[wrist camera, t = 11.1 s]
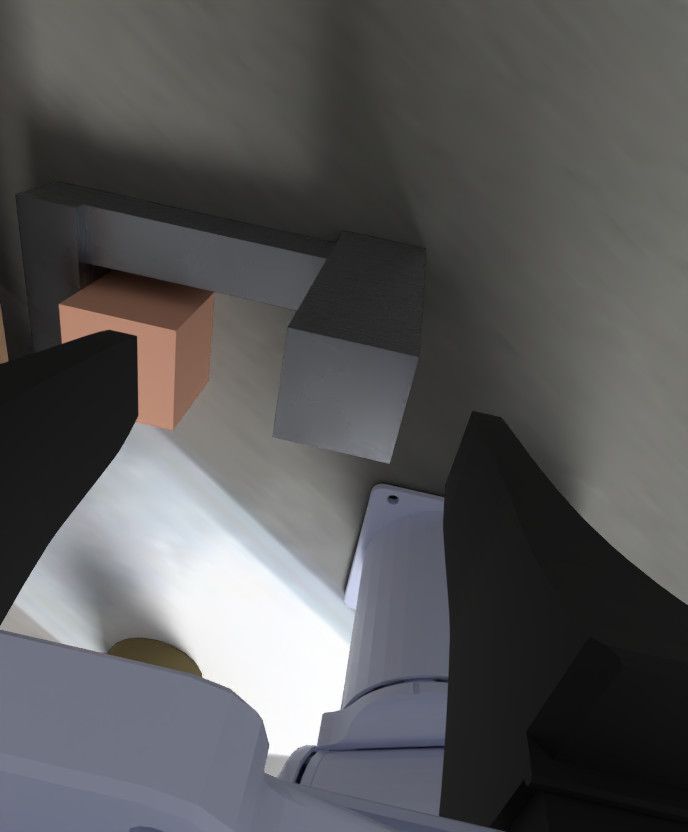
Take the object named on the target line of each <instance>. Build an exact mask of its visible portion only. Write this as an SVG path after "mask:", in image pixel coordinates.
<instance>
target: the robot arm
mask: <svg viewBox="0 0 688 832" xmlns="http://www.w3.org/2000/svg"><path fill="white" fill-rule="evenodd" d="M138 416H139V413H138V354H137V336H136V335H131V334H127V333H122V332H118V331H113V330H105V331H100V332H97V333H93V334H90V335H87V336H83V337H80V338H77V339H74V340H71V341H69V342H66V343H63V344H60V345H57V346H54V347H51V348H48V349H45V350H42V351H39V352H36V353H33V354H30V355H27V356H24V357H21V358H18V359H15V360H11V361H8V362H5V363H1V364H0V625H1V623H2V622H3V620H4V618H5V616H6V615H7V613H8V611H9V609H10V608H11V606H12V604H13V602H14V601H15V599H16V597H17V595H18V594H19V592H20V590H21V588H22V587H23V585H24V583H25V582H26V580H27V578H28V577H29V575H30V573H31V572H32V570H33V568H34V567H35V565H36V564H37V562H38V560H39V559H40V557H41V555H42V554H43V552H44V550H45V549H46V547H47V546H48V544H49V543H50V541H51V540H52V538H53V537H54V536H55V534H56V533H57V531H58V530H59V529H60V527H61V526H62V525H63V523H64V522H65V521H66V519H67V518H68V517H69V516H70V514H71V513H72V512H73V510H74V509H75V508H76V507H77V505H78V504H79V503H80V501H81V500H82V499H83V498H84V496H85V495H86V494H87V493H88V491H89V490H90V489H91V487H92V486H93V485H94V484H95V482H96V481H97V480H98V478H99V477H100V476H101V475H102V473H103V472H104V471H105V469H106V468H107V467H108V465H109V464H110V463H111V461H112V460H113V459H114V457H115V456H116V455H117V453H118V452H119V450H120V449H121V447H122V445H123V444H124V442H125V440H126V438H127V437H128V435H129V433H130V431H131V429H132V427H133V425H134V423H135V422H136V420H137V418H138ZM391 495H395V496H397V497H398V498H396V499H391V498H389V496H391ZM344 604H345V605H346V606H347V607H349V608H351V609H355V610H356V612H355V619H354V625H353V632H352V639H351V645H350V652H349V659H348V665H347V672H346V678H345V685H344V691H343V698H342V704H341V710H339V711H335V712H327V713H324V714H323V715H322V721H321V726H320V732H319V738H318V743H317V746H315V745H306V746H303V747H300V748H298V749H297V750H295V751H294V752H293V753H292V754H291V756H290V757H289V759H288V760H287V761H286V763H285V764H284V767H283V769H282V771H281V772H280V773H279V775H278V776H277V778H276V777H273V776H271V775H269V774H266V773H264V768H265V763H266V758H267V754H268V749H269V742H268V739H267V735H266V731H265V727H264V724H263V720H262V718H261V717H260V716H259V714H258V713H257V712H256V711H255V710H254V709H253V708H252V707H251V706H249V705H248V704H247V703H246V702H245V701H244V700H243V699H241V698H240V697H239V696H238V695H237V694H236V693H234V692H233V691H232V690H231V689H229V688H227V687H224V686H222V685H219V684H217V683H214V682H212V681H209V680H206V679H204V678H201V677H199V676H196V675H194V674H191V673H187V672H183V671H178V670H174V669H169V668H165V667H161V666H156V665H152V664H148V663H143V662H139V661H135V660H130V659H126V658H121V657H117V656H113V655H108V654H104V653H100V652H95V651H91V650H87V649H82V648H78V647H73V646H69V645H65V644H60V643H56V642H52V641H47V640H43V639H39V638H34V637H30V636H25V635H21V634H17V633H12V632H8V631H4V630H0V832H688V605H687V604H685V603H684V602H682V601H681V600H679V599H678V598H676V597H675V596H674V595H672V594H671V593H670V592H668V591H667V590H666V589H664V588H663V587H661V586H660V585H659V584H657V583H656V582H655V581H654V580H652V579H651V578H650V577H649V576H647V575H646V574H645V573H644V572H642V571H641V570H640V569H639V568H637V567H636V566H635V565H634V564H632V563H631V562H630V561H629V560H627V559H626V558H625V557H624V556H623V555H622V554H621V553H619V552H618V551H617V550H616V549H615V548H614V547H612V546H611V545H610V544H609V543H608V542H607V541H606V540H605V539H604V538H603V537H602V536H601V535H600V534H599V533H598V532H597V531H596V530H595V529H593V528H592V527H591V526H590V525H589V524H588V523H587V522H586V521H585V520H584V519H583V518H582V517H581V516H580V515H579V514H578V512H577V511H576V510H575V509H574V508H573V507H572V506H571V505H570V504H569V502H568V501H567V500H566V499H565V498H564V497H563V496H562V495H561V494H560V492H559V491H558V490H557V489H556V488H555V487H554V485H553V484H552V483H551V482H550V481H549V479H548V478H547V477H546V476H545V474H544V473H543V472H542V471H541V469H540V468H539V467H538V465H537V464H536V463H535V462H534V460H533V459H532V458H531V456H530V455H529V454H528V452H527V451H526V450H525V448H524V447H523V445H522V444H521V443H520V441H519V440H518V439H517V437H516V436H515V435H514V433H513V432H512V431H511V429H510V428H509V427H508V425H507V424H506V423H505V421H504V420H503V419H502V418H501V417H497V416H493V415H488V414H484V413H479V412H475V411H472V414H471V416H470V419H469V422H468V425H467V427H466V430H465V433H464V436H463V438H462V441H461V444H460V447H459V449H458V452H457V455H456V458H455V460H454V463H453V466H452V469H451V471H450V474H449V477H448V480H447V482H446V485H445V497H440V496H436V495H431V494H427V493H423V492H418V491H414V490H409V489H405V488H401V487H396V486H392V485H387V484H377V485H375V486H374V487H373V488H372V490H371V494H370V498H369V502H368V506H367V510H366V513H365V517H364V521H363V525H362V529H361V533H360V537H359V540H358V544H357V548H356V552H355V556H354V560H353V564H352V567H351V571H350V575H349V579H348V583H347V587H346V590H345V594H344Z"/></svg>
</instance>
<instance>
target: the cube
mask: <svg viewBox="0 0 688 832" xmlns="http://www.w3.org/2000/svg"><path fill="white" fill-rule="evenodd" d="M213 307H214V292H213V291H208V290H204V289H199V288H195V287H191V286H186V285H182V284H177V283H173V282H168V281H164V280H160V279H155V278H151V277H146V276H142V275H137V274H133V273H129V272H124V271H120V270H115V269H114V270H112V271H111V272H109V273H107V274H106V275H104V276H103V277H101V278H99V279H98V280H96V281H95V282H93V283H92V284H90V285H88V286H87V287H85V288H84V289H82V290H80V291H79V292H77V293H76V294H74V295H72V296H71V297H69V298H68V299H66V300H64V301H63V302H61V303H60V304H59V313H60V326H61V338H62V344H63V343H66V342H69V341H71V340H74V339H77V338H80V337H83V336H87V335H90V334H93V333H97V332H100V331H105V330H113V331H118V332H122V333H127V334H131V335H136V336H137V354H138V413H139V416H138V418H137V420H136V422H138V423H142V424H147V425H151V426H155V427H160V428H164V429H168V430H172V431H173V430H174V428H175V427H176V425H177V424H178V423H179V421H180V420H181V419H182V417H183V416H184V414H185V413H186V412H187V410H188V409H189V407H190V406H191V405H192V403H193V402H194V401H195V399H196V398H197V396H198V395H199V394H200V392H201V391H202V390H203V388H204V387H205V385H206V384H207V383H208V380H209V365H210V351H211V336H212V321H213Z"/></svg>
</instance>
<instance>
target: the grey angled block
mask: <svg viewBox="0 0 688 832" xmlns="http://www.w3.org/2000/svg"><path fill="white" fill-rule="evenodd" d="M15 195H16V204H17V213H18V222H19V231H20V239H21V248H22V257H23V266H24V275H25V283H26V292H27V301H28V310H29V319H30V328H31V336H32V345H33V353H36V352H39V351H42V350H45V349H48V348H51V347H54V346H57V345H60V344H62V338H61V326H60V313H59V304H60V303H61V302H63V301H64V300H66V299H68V298H69V297H71V296H72V295H74V294H76V293H77V292H79V291H80V290H82V289H84V288H85V287H87V286H88V285H90V284H92V283H93V282H95V281H96V280H98V279H99V278H101V277H103V276H104V275H106V274H107V273H109V272H111V271H112V270H113V269H115V270H120V271H124V272H129V273H133V274H137V275H142V276H146V277H151V278H155V279H160V280H164V281H168V282H173V283H177V284H182V285H186V286H191V287H195V288H200V289H204V290H208V291H213V292H217V293H222V294H226V295H231V296H235V297H240V298H244V299H248V300H253V301H257V302H262V303H266V304H271V305H275V306H279V307H284V308H288V309H293V310H297V312H296V314H295V315H294V317H293V319H292V321H291V322H290V324H289V326H288V328H287V336H286V343H285V350H284V357H283V364H282V371H281V378H280V386H279V393H278V400H277V407H276V414H275V421H274V428H273V435H272V437H275V438H279V439H284V440H288V441H293V442H297V443H301V444H306V445H310V446H314V447H319V448H323V449H327V450H332V451H336V452H340V453H345V454H349V455H353V456H358V457H362V458H366V459H371V460H375V461H379V462H384V463H388V464H390V461H391V457H392V453H393V450H394V446H395V443H396V439H397V435H398V432H399V428H400V425H401V421H402V417H403V414H404V410H405V407H406V403H407V399H408V396H409V392H410V389H411V385H412V381H413V378H414V374H415V371H416V367H417V363H418V360H419V353H420V337H421V321H422V306H423V290H424V274H425V258H426V249H425V248H421V247H416V246H412V245H407V244H403V243H398V242H393V241H389V240H384V239H380V238H375V237H371V236H366V235H362V234H357V233H353V232H348V231H344V230H343V231H342V233H341V235H340V237H339V238H338V240H337V242H336V243H333V242H328V241H324V240H319V239H315V238H310V237H306V236H301V235H297V234H292V233H288V232H283V231H279V230H274V229H270V228H265V227H261V226H256V225H252V224H247V223H243V222H238V221H234V220H229V219H225V218H220V217H216V216H211V215H207V214H202V213H198V212H193V211H189V210H184V209H180V208H175V207H171V206H166V205H162V204H157V203H153V202H148V201H144V200H139V199H135V198H130V197H126V196H121V195H117V194H112V193H108V192H103V191H99V190H94V189H90V188H85V187H81V186H76V185H72V184H67V183H63V182H58V181H57V182H54V183H51V184H48V185H44V186H41V187H38V188H35V189H31V190H28V191H25V192H22V193H18V194H15Z"/></svg>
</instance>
